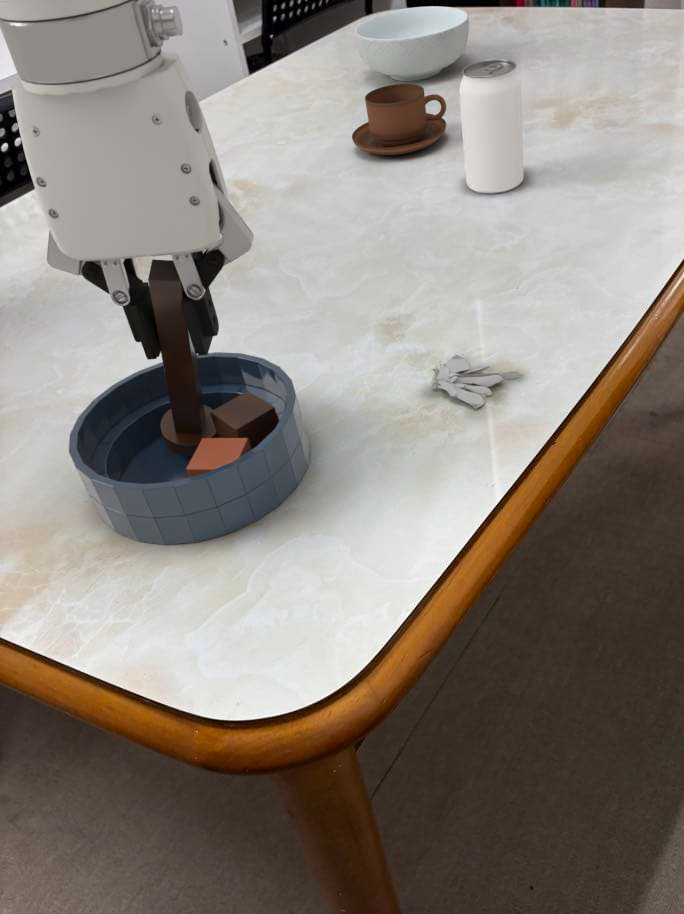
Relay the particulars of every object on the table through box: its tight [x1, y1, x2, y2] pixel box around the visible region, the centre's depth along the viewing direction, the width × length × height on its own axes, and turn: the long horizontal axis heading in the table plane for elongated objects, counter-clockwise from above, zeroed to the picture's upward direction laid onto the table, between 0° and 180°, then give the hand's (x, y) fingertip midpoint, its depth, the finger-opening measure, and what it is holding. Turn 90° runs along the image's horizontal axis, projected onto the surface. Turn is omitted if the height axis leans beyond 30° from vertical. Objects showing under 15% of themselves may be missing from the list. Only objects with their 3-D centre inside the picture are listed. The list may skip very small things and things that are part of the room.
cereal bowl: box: [354, 5, 470, 82], centre depth 128 cm, size 17×17×7 cm
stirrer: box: [147, 259, 218, 456], centre depth 59 cm, size 4×4×15 cm
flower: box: [430, 354, 524, 409], centre depth 68 cm, size 8×8×3 cm
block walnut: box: [210, 391, 279, 449], centre depth 64 cm, size 4×4×4 cm
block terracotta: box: [186, 438, 252, 477], centre depth 61 cm, size 4×4×4 cm
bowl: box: [68, 351, 311, 546], centre depth 63 cm, size 16×16×6 cm
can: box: [459, 58, 525, 195], centre depth 93 cm, size 6×6×12 cm
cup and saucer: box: [351, 83, 447, 156], centre depth 107 cm, size 12×12×6 cm
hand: (181, 344), depth 57 cm, fingers closed on stirrer, 2 cm apart
